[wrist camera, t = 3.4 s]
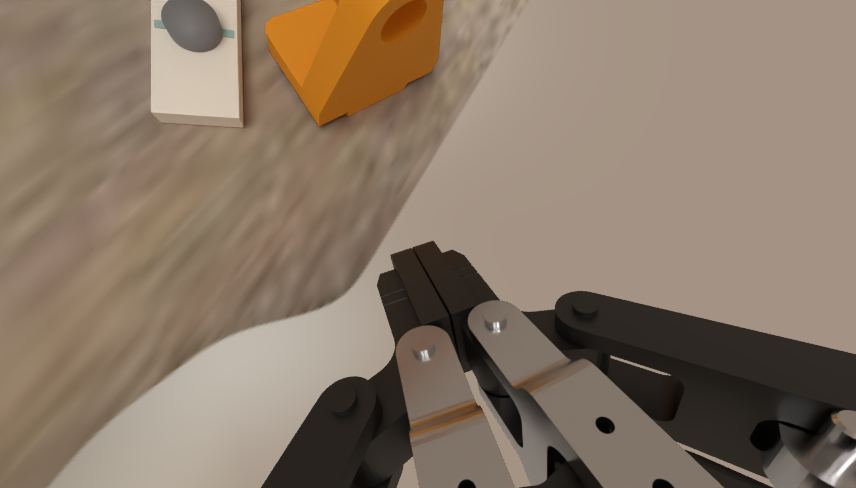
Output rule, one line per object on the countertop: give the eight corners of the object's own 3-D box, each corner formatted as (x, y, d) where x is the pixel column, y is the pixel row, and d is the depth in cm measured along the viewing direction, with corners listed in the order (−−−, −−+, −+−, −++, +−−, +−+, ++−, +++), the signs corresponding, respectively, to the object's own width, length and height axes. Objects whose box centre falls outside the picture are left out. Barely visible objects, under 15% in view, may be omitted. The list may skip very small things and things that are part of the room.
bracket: (382, 2, 29) (423, -173, 18) (427, 77, 30) (496, -47, 19) (264, 47, 26) (224, -133, 15) (318, 130, 27) (320, 19, 15)
